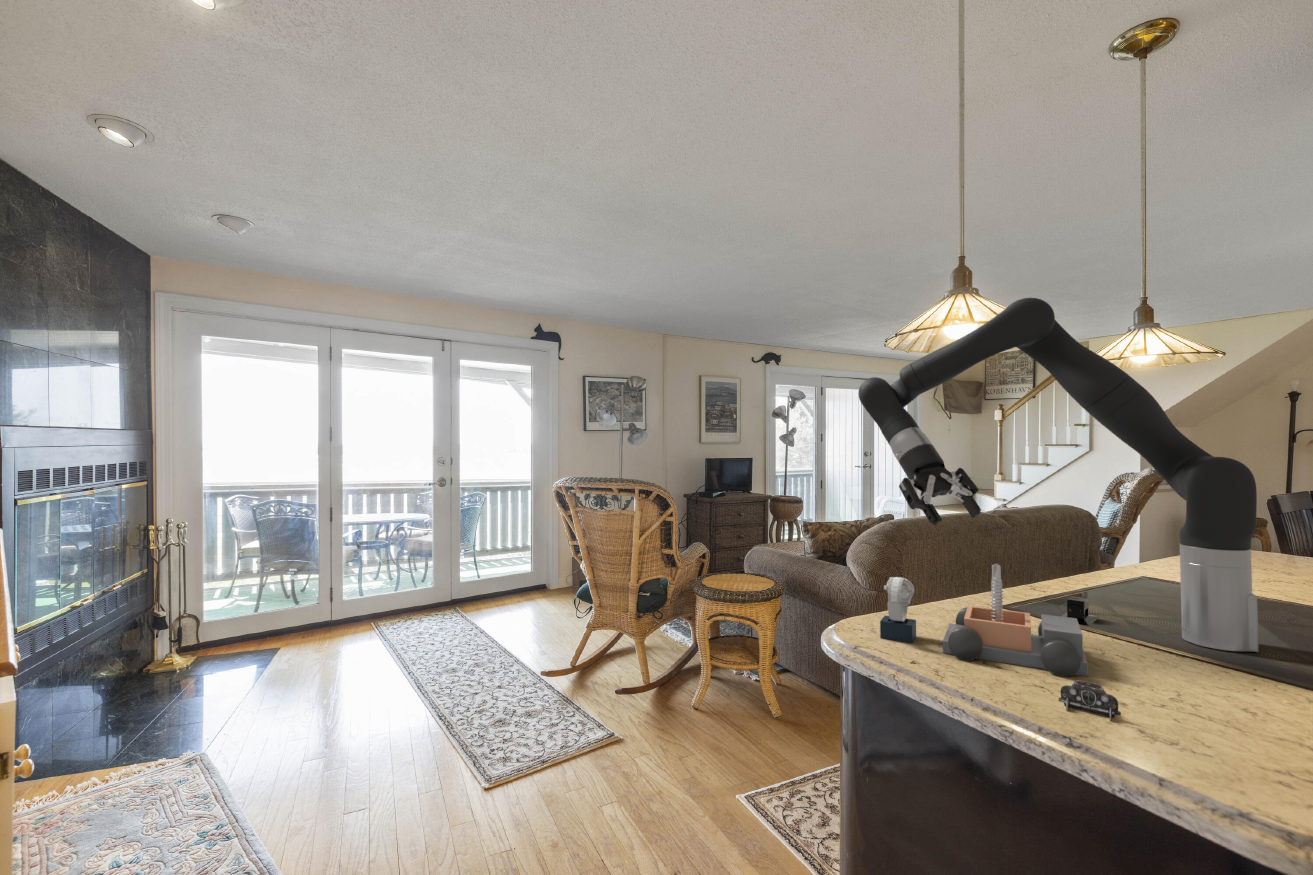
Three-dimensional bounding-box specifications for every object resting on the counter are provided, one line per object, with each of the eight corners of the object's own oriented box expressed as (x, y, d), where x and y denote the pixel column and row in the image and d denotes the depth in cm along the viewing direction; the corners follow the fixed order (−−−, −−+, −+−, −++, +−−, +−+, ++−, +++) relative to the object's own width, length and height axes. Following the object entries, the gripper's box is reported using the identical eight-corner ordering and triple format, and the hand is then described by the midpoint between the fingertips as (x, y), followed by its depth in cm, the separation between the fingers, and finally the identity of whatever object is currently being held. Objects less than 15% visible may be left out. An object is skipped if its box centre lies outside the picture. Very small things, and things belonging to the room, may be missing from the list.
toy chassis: (1079, 649, 101) (1078, 614, 101) (1089, 680, 87) (1088, 640, 87) (950, 630, 111) (950, 599, 111) (941, 656, 98) (941, 620, 98)
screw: (975, 635, 102) (997, 633, 103) (998, 644, 98) (1020, 641, 99) (973, 561, 102) (995, 559, 104) (996, 566, 98) (1019, 565, 99)
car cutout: (1054, 717, 77) (1053, 683, 77) (1060, 700, 82) (1060, 668, 82) (1211, 756, 67) (1210, 717, 67) (1207, 734, 72) (1207, 698, 72)
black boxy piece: (1064, 612, 126) (1064, 590, 126) (1106, 619, 121) (1106, 596, 121) (1050, 623, 117) (1049, 600, 117) (1094, 631, 112) (1094, 607, 112)
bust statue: (917, 633, 110) (917, 575, 110) (910, 645, 103) (910, 583, 103) (886, 628, 113) (885, 572, 113) (877, 640, 106) (877, 580, 106)
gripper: (891, 448, 117) (933, 515, 108) (953, 437, 120) (999, 502, 110) (878, 469, 123) (917, 535, 113) (937, 459, 126) (980, 522, 116)
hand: (958, 519), depth 112 cm, fingers open, 8 cm apart
